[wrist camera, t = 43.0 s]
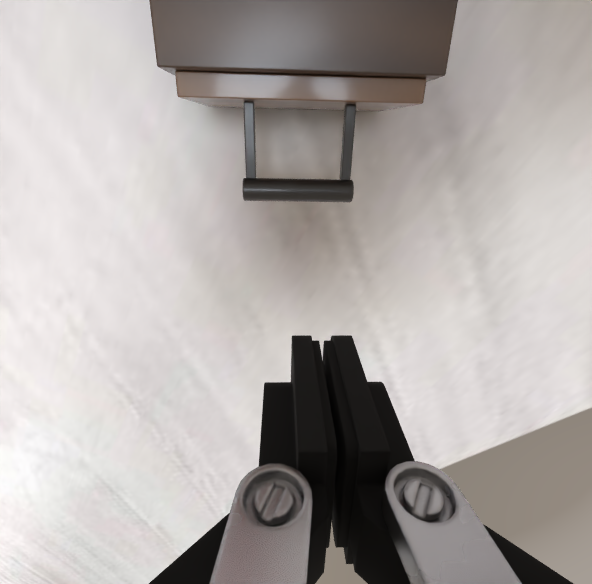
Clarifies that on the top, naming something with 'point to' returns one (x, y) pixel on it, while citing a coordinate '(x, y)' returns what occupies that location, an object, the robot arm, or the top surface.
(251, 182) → the drawer
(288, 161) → the top surface
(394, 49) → the cabinet
